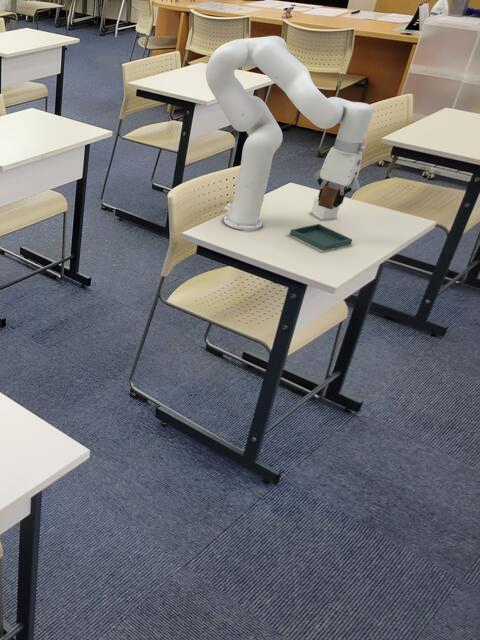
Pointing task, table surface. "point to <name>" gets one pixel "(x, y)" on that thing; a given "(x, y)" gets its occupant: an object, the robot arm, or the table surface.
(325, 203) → the block
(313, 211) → the white cube
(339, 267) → the table surface
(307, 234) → the tray
